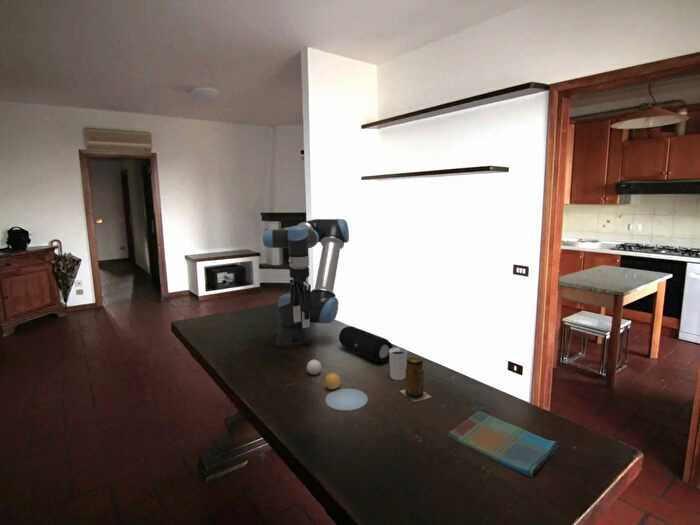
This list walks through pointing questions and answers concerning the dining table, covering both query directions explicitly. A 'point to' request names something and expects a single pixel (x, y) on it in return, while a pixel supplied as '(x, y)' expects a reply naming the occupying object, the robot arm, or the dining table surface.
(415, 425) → the dining table surface
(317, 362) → the ivory ball
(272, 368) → the dining table surface
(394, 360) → the white cup
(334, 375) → the orange ball
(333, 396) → the blue mark
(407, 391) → the condiment
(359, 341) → the portable speaker
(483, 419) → the dish towel
